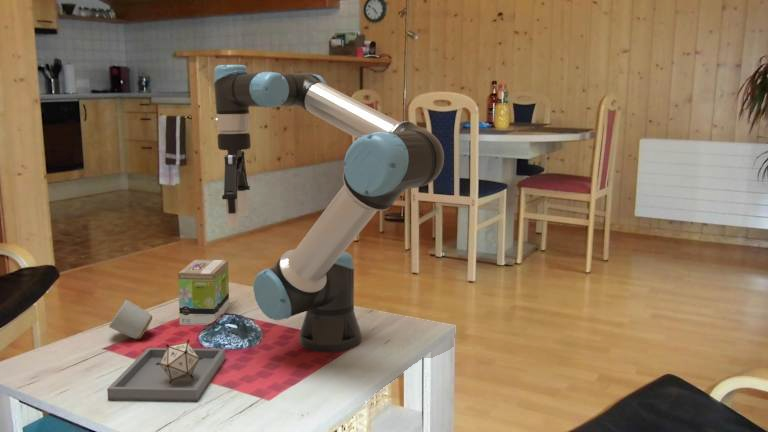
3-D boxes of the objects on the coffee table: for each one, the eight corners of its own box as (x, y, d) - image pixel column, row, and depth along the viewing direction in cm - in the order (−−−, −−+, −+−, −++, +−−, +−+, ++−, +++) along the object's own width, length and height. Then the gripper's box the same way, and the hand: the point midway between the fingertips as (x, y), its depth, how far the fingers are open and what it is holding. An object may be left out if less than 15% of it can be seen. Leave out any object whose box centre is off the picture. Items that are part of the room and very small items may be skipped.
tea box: (217, 327, 181) (214, 272, 178) (178, 327, 181) (175, 272, 178) (230, 309, 195) (228, 258, 193) (195, 309, 196) (192, 258, 193)
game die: (150, 388, 144) (164, 367, 138) (152, 351, 149) (165, 329, 143) (193, 391, 148) (208, 370, 142) (193, 355, 153) (207, 334, 147)
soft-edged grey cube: (136, 347, 171) (148, 327, 168) (105, 332, 169) (116, 312, 165) (150, 319, 180) (161, 300, 177) (120, 305, 178) (132, 285, 174)
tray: (225, 359, 159) (225, 349, 159) (197, 401, 138) (196, 390, 137) (148, 358, 160) (147, 347, 159) (108, 400, 138) (107, 388, 138)
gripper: (226, 130, 174) (230, 213, 177) (206, 135, 149) (212, 232, 153) (256, 129, 174) (260, 212, 178) (241, 135, 149) (246, 231, 153)
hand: (238, 221), depth 165 cm, fingers open, 13 cm apart
